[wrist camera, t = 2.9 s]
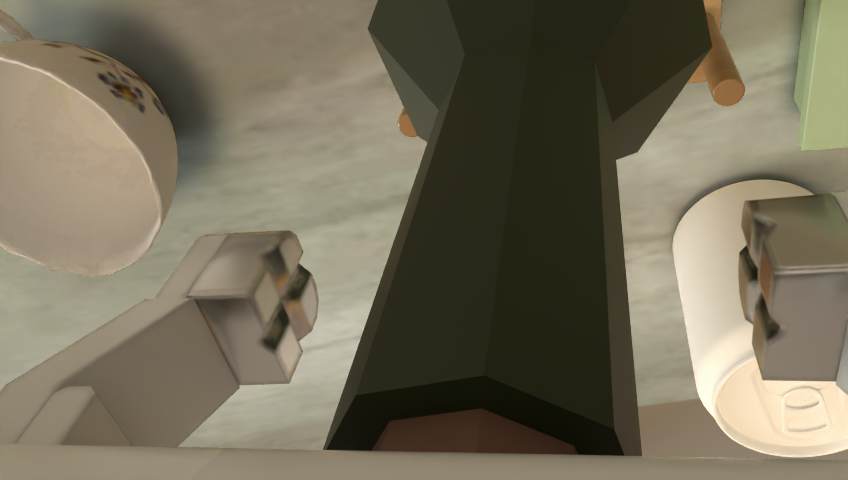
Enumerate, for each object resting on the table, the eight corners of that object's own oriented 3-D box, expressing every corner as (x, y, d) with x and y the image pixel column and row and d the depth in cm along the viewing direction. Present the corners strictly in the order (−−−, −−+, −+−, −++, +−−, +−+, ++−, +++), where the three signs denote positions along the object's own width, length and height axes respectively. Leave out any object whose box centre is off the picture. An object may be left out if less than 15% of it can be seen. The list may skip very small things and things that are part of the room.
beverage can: (821, 154, 35) (911, 318, 26) (837, 274, 39) (919, 453, 30) (656, 194, 38) (682, 354, 29) (687, 301, 42) (719, 472, 33)
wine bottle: (672, -222, 27) (1335, 268, 3) (634, -5, 32) (798, 795, 8) (458, -222, 28) (-142, 140, 5) (455, -13, 33) (161, 670, 10)
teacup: (262, 164, 41) (206, 245, 35) (111, 219, 46) (38, 299, 40) (95, -87, 34) (-14, -41, 28) (-63, 9, 39) (-187, 68, 32)
